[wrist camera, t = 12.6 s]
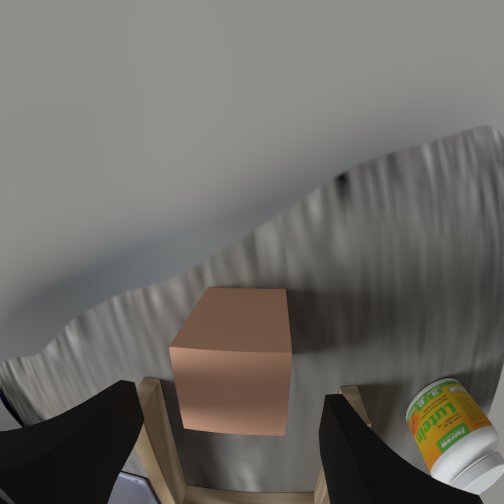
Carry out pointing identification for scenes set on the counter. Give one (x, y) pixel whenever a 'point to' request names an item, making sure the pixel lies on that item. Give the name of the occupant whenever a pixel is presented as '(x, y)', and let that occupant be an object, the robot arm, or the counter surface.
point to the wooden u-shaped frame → (170, 470)
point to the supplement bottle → (455, 437)
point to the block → (234, 362)
